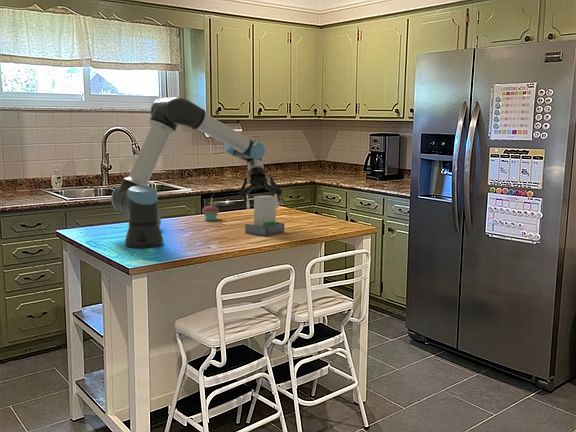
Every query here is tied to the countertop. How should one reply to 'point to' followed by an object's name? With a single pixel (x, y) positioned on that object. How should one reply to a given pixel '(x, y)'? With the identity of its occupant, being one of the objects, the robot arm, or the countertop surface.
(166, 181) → the countertop surface
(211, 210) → the cupcake
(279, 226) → the tray
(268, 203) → the skincare box
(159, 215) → the garlic bulb
